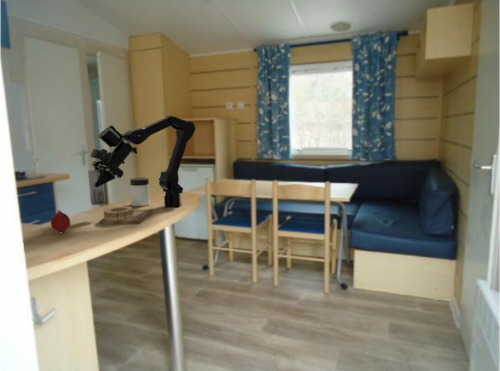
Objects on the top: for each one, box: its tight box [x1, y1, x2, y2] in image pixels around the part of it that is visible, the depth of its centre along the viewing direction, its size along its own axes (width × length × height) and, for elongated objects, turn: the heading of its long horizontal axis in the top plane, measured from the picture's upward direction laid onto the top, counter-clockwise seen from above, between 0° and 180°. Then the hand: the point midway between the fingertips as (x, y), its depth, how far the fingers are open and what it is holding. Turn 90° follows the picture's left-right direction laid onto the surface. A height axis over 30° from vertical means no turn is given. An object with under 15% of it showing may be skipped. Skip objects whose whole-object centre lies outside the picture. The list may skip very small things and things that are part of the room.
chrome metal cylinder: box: [87, 169, 106, 206], centre depth 137 cm, size 5×5×13 cm
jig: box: [99, 205, 153, 225], centre depth 140 cm, size 15×18×4 cm
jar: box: [129, 177, 151, 207], centre depth 164 cm, size 9×8×12 cm
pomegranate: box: [50, 209, 71, 233], centre depth 121 cm, size 6×6×8 cm
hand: (92, 185), depth 136 cm, fingers closed on chrome metal cylinder, 5 cm apart
